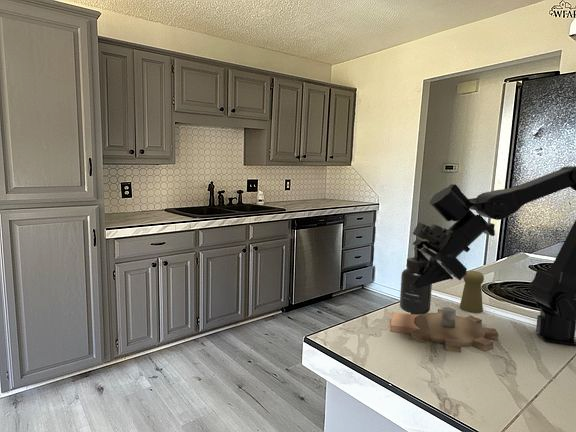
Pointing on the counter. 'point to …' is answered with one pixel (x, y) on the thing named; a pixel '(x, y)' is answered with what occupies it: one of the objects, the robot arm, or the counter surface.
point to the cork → (472, 292)
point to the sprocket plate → (445, 329)
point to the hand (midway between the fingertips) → (410, 282)
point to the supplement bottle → (410, 295)
